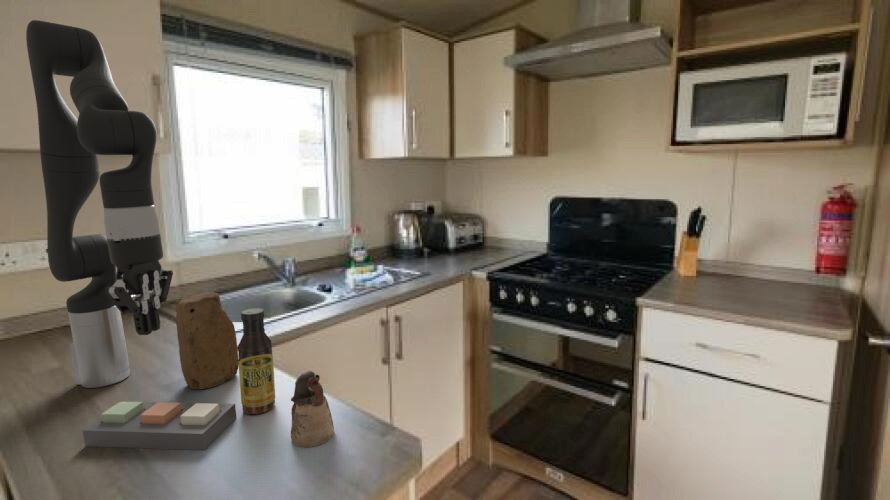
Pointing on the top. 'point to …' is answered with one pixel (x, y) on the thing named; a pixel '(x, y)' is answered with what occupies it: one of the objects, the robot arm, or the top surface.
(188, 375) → the brown sandstone rock
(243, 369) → the sauce bottle
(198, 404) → the cream button
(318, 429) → the figurine
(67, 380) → the top surface
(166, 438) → the button panel
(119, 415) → the sage button
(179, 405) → the terracotta button
